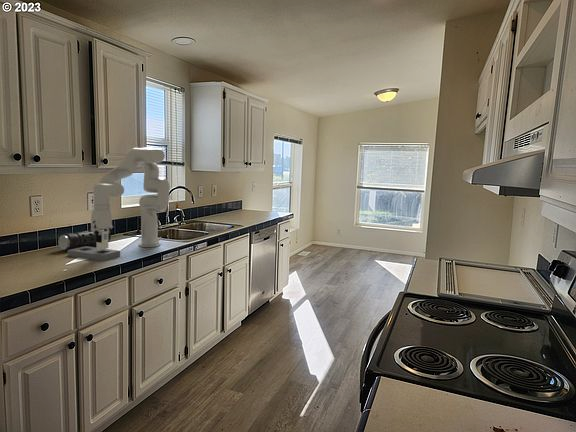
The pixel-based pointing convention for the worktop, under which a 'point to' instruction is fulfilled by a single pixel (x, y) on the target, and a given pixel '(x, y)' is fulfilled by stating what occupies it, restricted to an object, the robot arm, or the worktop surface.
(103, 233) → the plug
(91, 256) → the socket block
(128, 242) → the worktop surface
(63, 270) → the worktop surface
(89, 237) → the black flashlight
